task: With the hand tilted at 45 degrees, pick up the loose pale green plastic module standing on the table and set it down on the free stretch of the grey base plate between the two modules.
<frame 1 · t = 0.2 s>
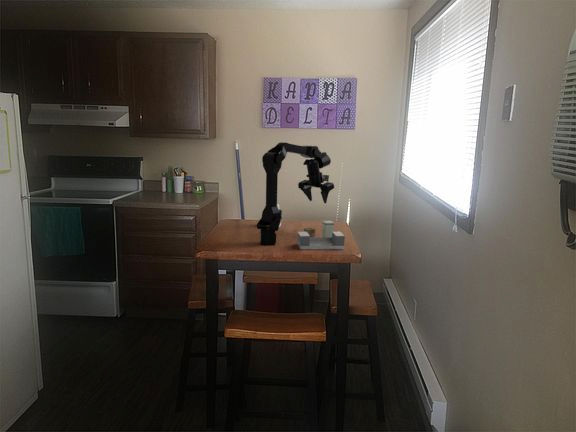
hand: (318, 202, 216), 16 cm above the table, tool tilted 15°, fingers open, 9 cm apart
module a: (303, 246, 190), resting on grey base plate
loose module: (327, 240, 203), on the table
module b: (337, 246, 192), resting on grey base plate
grey base plate: (320, 246, 191), on the table
walnut block: (309, 237, 210), on the table
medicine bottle: (273, 226, 233), on the table
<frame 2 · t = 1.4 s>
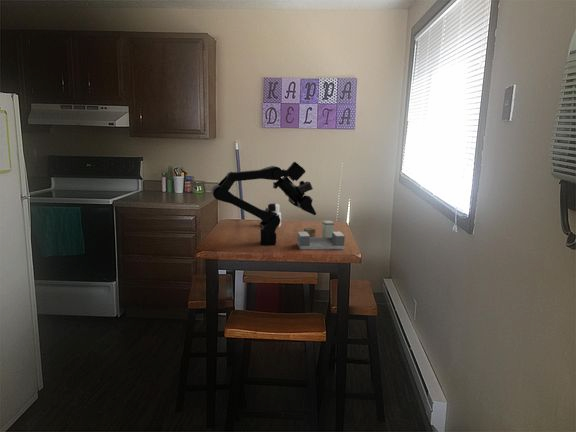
hand: (312, 212, 198), 13 cm above the table, tool tilted 45°, fingers open, 9 cm apart
nothing on the table moved.
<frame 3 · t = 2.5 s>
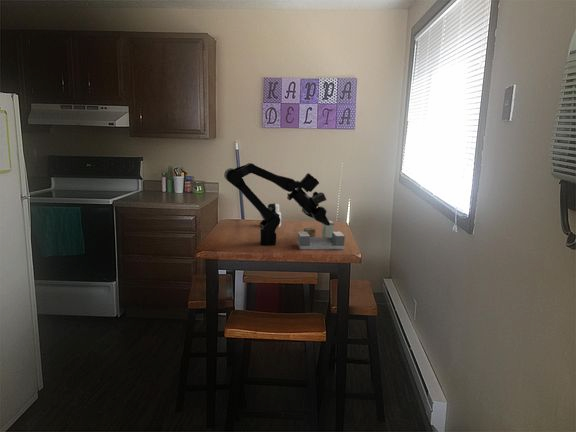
hand: (325, 223, 201), 8 cm above the table, tool tilted 45°, fingers open, 9 cm apart
nothing on the table moved.
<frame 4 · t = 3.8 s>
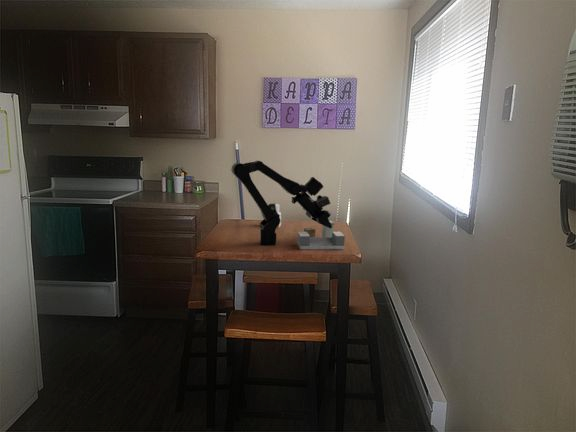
hand: (329, 226, 202), 7 cm above the table, tool tilted 45°, fingers closed on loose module, 5 cm apart
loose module: (327, 240, 203), on the table, touching gripper
everything else where it was.
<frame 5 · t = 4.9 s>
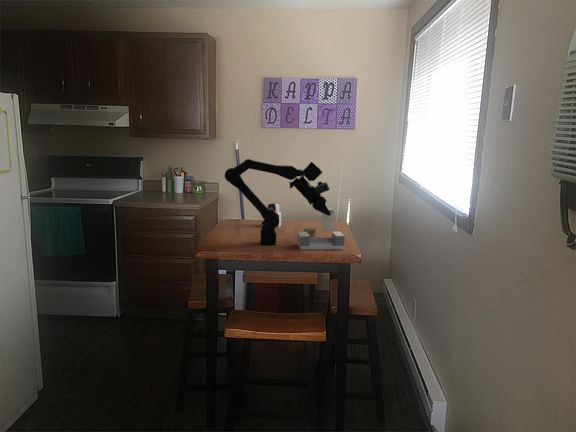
hand: (329, 214, 195), 13 cm above the table, tool tilted 45°, fingers closed on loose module, 5 cm apart
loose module: (326, 228, 196), point 7 cm above the table, touching gripper
everything else where it was.
when the fingers open (9 cm above the table, at t = 6.3 s): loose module drops 1 cm, resting on grey base plate.
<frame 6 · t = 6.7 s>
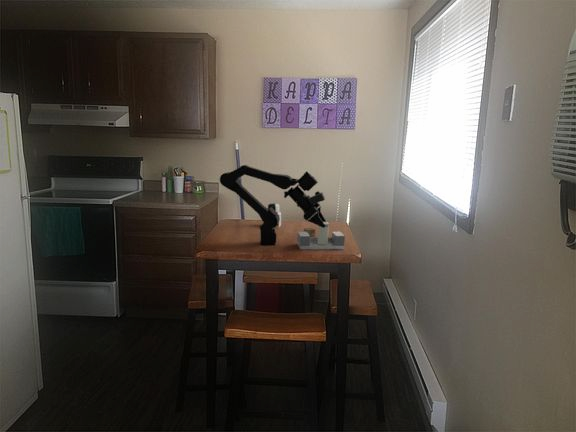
hand: (325, 225, 190), 10 cm above the table, tool tilted 45°, fingers open, 9 cm apart
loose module: (322, 243, 192), point 2 cm above the table, touching grey base plate
everything else where it was.
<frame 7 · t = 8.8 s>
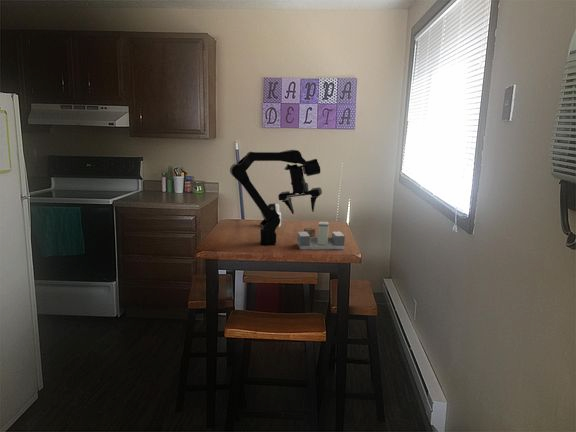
hand: (303, 212, 196), 13 cm above the table, tool pointing down, fingers open, 9 cm apart
nothing on the table moved.
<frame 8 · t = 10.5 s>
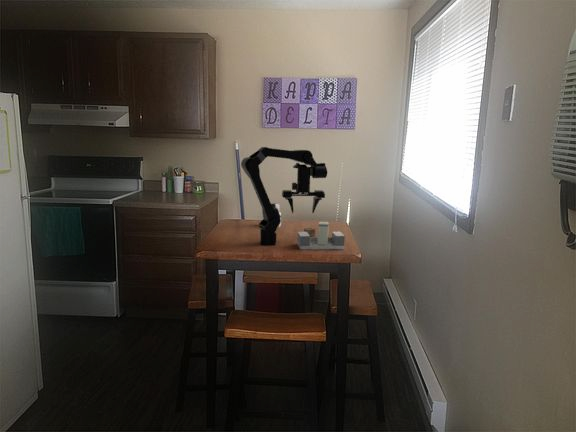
hand: (302, 213, 199), 13 cm above the table, tool pointing down, fingers open, 9 cm apart
nothing on the table moved.
at the end: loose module inside the target area (0.6 cm from its centre), point 1.5 cm above the table; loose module tilted 0°; the gripper is holding nothing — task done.
